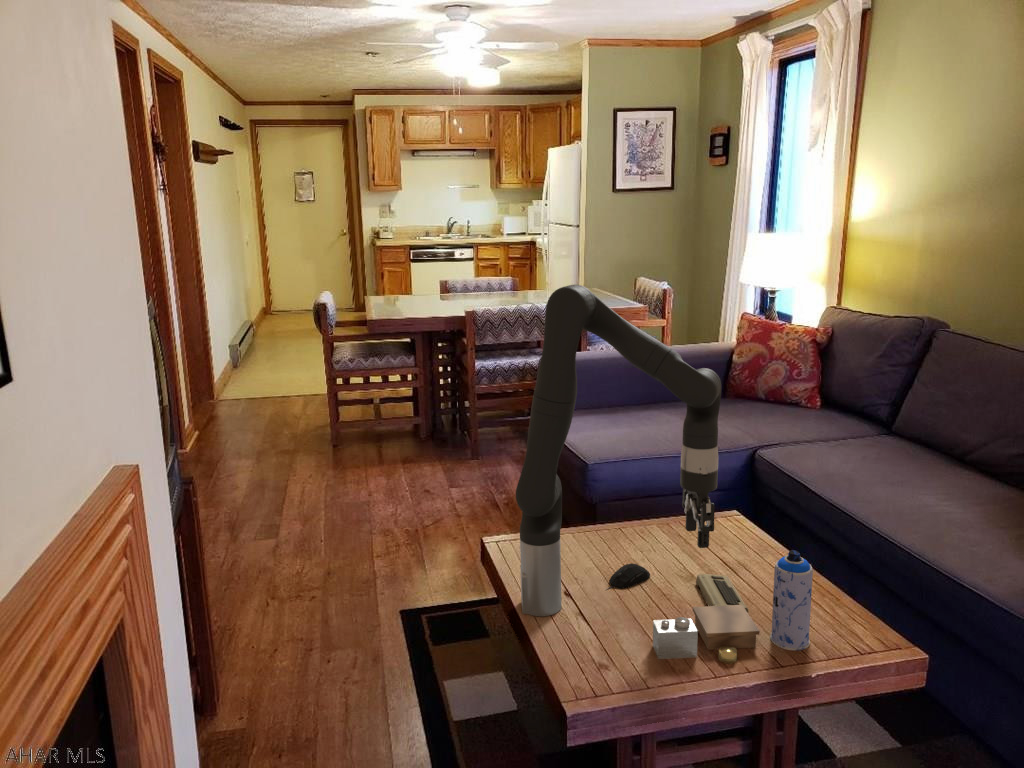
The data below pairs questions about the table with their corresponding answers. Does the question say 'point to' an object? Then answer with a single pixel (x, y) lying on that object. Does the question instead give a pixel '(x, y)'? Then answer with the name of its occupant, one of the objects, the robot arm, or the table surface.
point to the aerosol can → (792, 602)
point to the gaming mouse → (628, 576)
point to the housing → (675, 638)
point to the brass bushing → (727, 654)
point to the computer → (718, 590)
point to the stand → (725, 626)
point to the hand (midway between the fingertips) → (696, 538)
